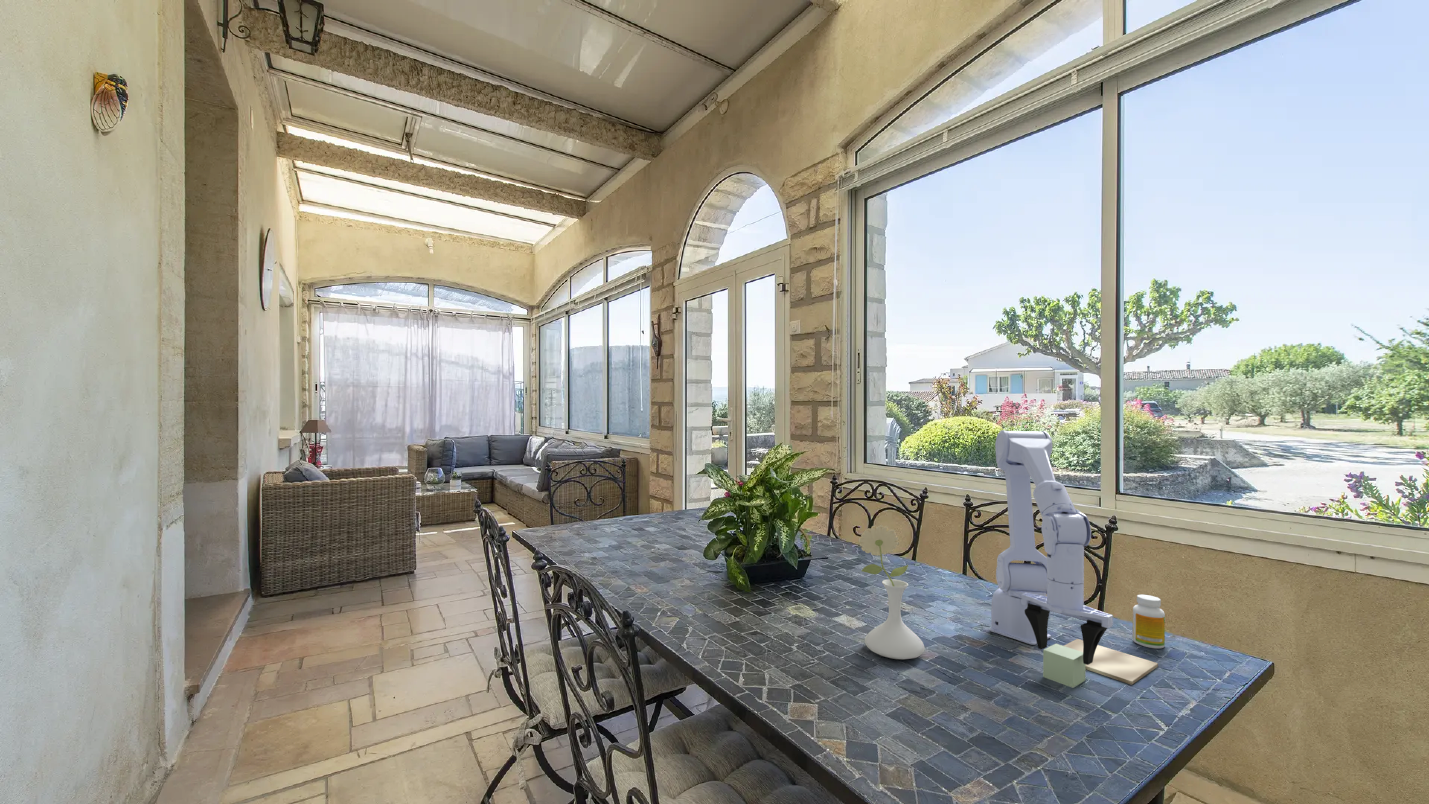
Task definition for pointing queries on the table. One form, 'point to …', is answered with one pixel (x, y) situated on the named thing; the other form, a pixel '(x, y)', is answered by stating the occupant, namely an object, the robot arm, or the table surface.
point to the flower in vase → (893, 633)
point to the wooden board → (1116, 663)
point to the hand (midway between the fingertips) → (1064, 655)
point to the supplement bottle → (1148, 622)
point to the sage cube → (1064, 665)
